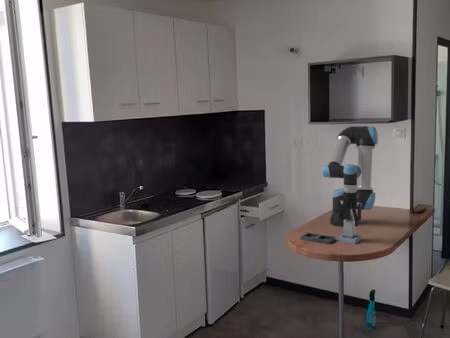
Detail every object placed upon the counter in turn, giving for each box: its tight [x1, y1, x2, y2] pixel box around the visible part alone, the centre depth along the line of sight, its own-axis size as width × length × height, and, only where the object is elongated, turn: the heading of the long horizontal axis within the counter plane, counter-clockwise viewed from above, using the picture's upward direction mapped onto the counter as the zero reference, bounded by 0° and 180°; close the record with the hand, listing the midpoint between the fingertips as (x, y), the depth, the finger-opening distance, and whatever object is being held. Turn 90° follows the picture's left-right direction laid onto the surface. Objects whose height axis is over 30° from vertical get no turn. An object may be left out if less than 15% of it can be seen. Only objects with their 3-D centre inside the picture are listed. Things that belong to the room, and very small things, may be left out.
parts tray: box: [337, 233, 362, 245], centre depth 263 cm, size 10×10×2 cm
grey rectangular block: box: [343, 220, 357, 238], centre depth 263 cm, size 5×5×9 cm
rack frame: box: [300, 232, 337, 245], centre depth 266 cm, size 9×18×2 cm, turn 53°
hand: (349, 230), depth 263 cm, fingers closed on grey rectangular block, 5 cm apart
